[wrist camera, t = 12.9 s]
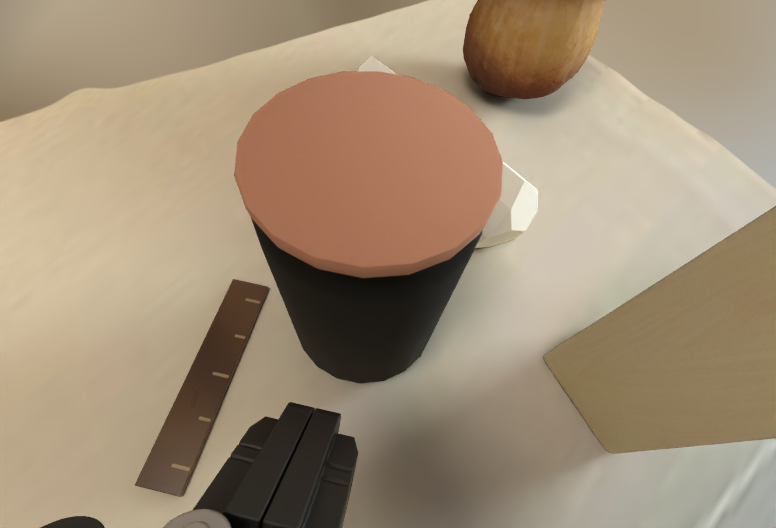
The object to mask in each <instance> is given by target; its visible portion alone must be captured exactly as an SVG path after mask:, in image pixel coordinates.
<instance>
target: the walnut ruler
mask: <svg viewBox="0 0 776 528" xmlns="http://www.w3.org/2000/svg"><path fill="white" fill-rule="evenodd" d="M268 290H269V288H268V287H266V286H262V285H257V284H253V283H248V282H244V281H239V280H235V279H233V281H232V283H231V285H230V287H229V289H228V291H227V293H226V295H225V298H224V300H223V302H222V304H221V306H220V308H219V310H218V312H217V314H216V316H215V318H214V321H213V323H212V325H211V327H210V329H209V331H208V333H207V335H206V337H205V339H204V341H203V344H202V346H201V348H200V350H199V352H198V354H197V356H196V358H195V360H194V362H193V364H192V367H191V369H190V371H189V373H188V375H187V377H186V379H185V381H184V383H183V385H182V387H181V390H180V392H179V394H178V396H177V398H176V400H175V402H174V404H173V406H172V408H171V410H170V413H169V415H168V417H167V419H166V421H165V423H164V425H163V427H162V429H161V431H160V433H159V436H158V438H157V440H156V442H155V444H154V446H153V448H152V450H151V452H150V454H149V456H148V459H147V461H146V463H145V465H144V467H143V469H142V471H141V473H140V475H139V477H138V479H137V482H136V484H135V485H136V486H140V487H144V488H148V489H152V490H156V491H160V492H163V493H167V494H171V495H175V496H179V497H180V496H183V494H184V491H185V489H186V486H187V484H188V482H189V479H190V477H191V474H192V472H193V470H194V467H195V465H196V462H197V460H198V458H199V455H200V453H201V450H202V448H203V446H204V443H205V441H206V438H207V436H208V434H209V431H210V429H211V426H212V424H213V422H214V419H215V417H216V415H217V412H218V410H219V407H220V405H221V403H222V400H223V398H224V395H225V393H226V391H227V388H228V386H229V383H230V381H231V379H232V376H233V374H234V371H235V369H236V367H237V364H238V362H239V359H240V357H241V355H242V352H243V350H244V347H245V345H246V343H247V340H248V338H249V335H250V333H251V331H252V328H253V326H254V323H255V321H256V319H257V316H258V314H259V311H260V309H261V307H262V304H263V302H264V299H265V297H266V295H267V292H268Z"/></svg>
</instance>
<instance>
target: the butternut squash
mask: <svg viewBox="0 0 776 528" xmlns="http://www.w3.org/2000/svg"><path fill="white" fill-rule="evenodd" d="M605 1H606V0H478V1H477V3H476V4H475V6H474V8H473V10H472V12H471V14H470V18H469V21H468V24H467V27H466V33H465V39H464V46H463V54H464V60H465V63H466V65H467V68H468V70H469V73H470V76H471V78H472V80H473V81H474V82H475V83H476V84H477V85H478V86H479V87H480V88H481V89H483V90H484V91H485V92H488V93H492V94H495V95H499V96H502V97H511V98H519V99H531V98H538V97H543V96H546V95H549V94H551V93H553V92H555V91H556V90H558V89H559V88H560V87H561V86H562V85H563V84H564V83H565V82H567V81H568V80H569V79H570V78H572V77H573V76H574V75H575V74H576V73H577V72H578V71H579V69H580V68H581V66H582V65H583V64H584V62H585V60H586V58H587V56H588V54H589V52H590V50H591V48H592V46H593V44H594V41H595V39H596V36H597V33H598V28H599V24H600V20H601V14H602V10H603V6H604V3H605Z"/></svg>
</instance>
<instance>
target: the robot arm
mask: <svg viewBox="0 0 776 528" xmlns="http://www.w3.org/2000/svg"><path fill="white" fill-rule="evenodd" d="M340 420H341V414H339V413H335V412H330V411H326V410H322V409H318V408H316V409H315V408H313V407H309V406H304V405H300V404H296V403H291V402H290V403H288V405H287V406H286V408H285V410H284V411H283V413H282V415H281V416H280V418H279V420H278V419H274V418H269V417H264V418H263V419H261V420H260V421H258V422H257V423H255V424H254V425H252V426H251V427H250V428H249V429H248V431H247V432H246V434H245V435H244V436H243V438H242V439H241V441H240V443H239V445H237V447H236V448H235V450H234V451H233V452H232V454H231V457H230V458H228V460H227V461H226V463H225V464H224V465H223V467H222V468H221V470H220V471H219V473H218V474H217V476H216V477H215V479H214V480H213V481H212V483H211V484H210V486H209V487H208V489H207V490H206V492H205V493H204V495H203V496H202V497H201V499H200V500H199V502H198V503H197V505H196V506H195V507H194V509H193V510H192V511H189V512H186V513H183V514H181V515H179V516H177V517H176V518H174V519H173V520H171V521H170V522H169V523H167V524H166V525H165V526H164V527H163V528H342V526H343V521H344V517H345V513H346V509H347V505H348V500H349V496H350V491H351V486H352V481H353V476H354V471H355V467H356V462H357V457H358V450H357V446H356V442H355V438H354V437H350V436H346V435H342V434H338V431H339V426H340ZM41 528H105V527H104V525H103V524H102V523H101V522H100V521H98V520H97V519H95V518H91V517H86V516H75V517H69V518H65V519H61V520H58V521H55V522H52V523H50V524H48V525H45V526H43V527H41Z"/></svg>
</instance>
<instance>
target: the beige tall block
mask: <svg viewBox="0 0 776 528" xmlns="http://www.w3.org/2000/svg"><path fill="white" fill-rule="evenodd" d="M543 358H544V360H545V362H546V364H547V365H548V367H549V368H550V370H551V371H552V373H553V374H554V376H555V377H556V378H557V380H558V381H559V383H560V384H561V386H562V387H563V389H564V390H565V392H566V393H567V394H568V396H569V397H570V399H571V400H572V402H573V403H574V405H575V406H576V408H577V409H578V410H579V412H580V413H581V415H582V416H583V418H584V419H585V420H586V422H587V424H588V425H589V427H590V428H591V430H592V431H593V432H594V434H595V435H596V437H597V438H598V440H599V441H600V442H601V444H602V445H603V447H604V448H605V449H606V450H607V451H608V452H610V453H626V452H635V451H645V450H657V449H669V448H679V447H690V446H698V445H711V444H722V443H731V442H741V441H751V440H762V439H772V438H776V206H775V207H773V208H772V209H770V210H769V211H767V212H766V213H764V214H763V215H761V216H759V217H758V218H756V219H755V220H753V221H752V222H750V223H749V224H747V225H745V226H744V227H742V228H741V229H739V230H738V231H736V232H735V233H733V234H731V235H730V236H728V237H727V238H725V239H724V240H722V241H721V242H719V243H717V244H716V245H714V246H713V247H711V248H710V249H708V250H707V251H705V252H703V253H702V254H700V255H699V256H697V257H696V258H694V259H693V260H691V261H689V262H688V263H686V264H685V265H683V266H682V267H680V268H679V269H677V270H676V271H674V272H672V273H671V274H669V275H668V276H666V277H665V278H663V279H662V280H660V281H658V282H657V283H655V284H654V285H652V286H651V287H649V288H648V289H646V290H644V291H643V292H641V293H640V294H638V295H637V296H635V297H634V298H632V299H630V300H629V301H627V302H626V303H624V304H623V305H621V306H620V307H618V308H616V309H615V310H613V311H612V312H610V313H609V314H607V315H606V316H604V317H602V318H601V319H599V320H598V321H596V322H595V323H593V324H592V325H590V326H588V327H587V328H585V329H584V330H582V331H581V332H579V333H578V334H576V335H574V336H573V337H571V338H570V339H568V340H567V341H565V342H564V343H562V344H561V345H559V346H557V347H556V348H554V349H553V350H551V351H550V352H548V353H546V354H545V355H544V357H543Z"/></svg>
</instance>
